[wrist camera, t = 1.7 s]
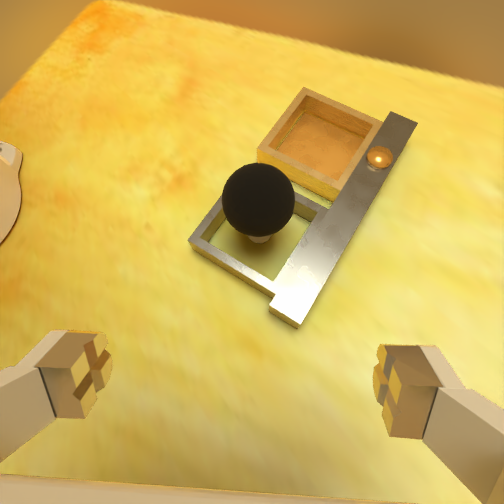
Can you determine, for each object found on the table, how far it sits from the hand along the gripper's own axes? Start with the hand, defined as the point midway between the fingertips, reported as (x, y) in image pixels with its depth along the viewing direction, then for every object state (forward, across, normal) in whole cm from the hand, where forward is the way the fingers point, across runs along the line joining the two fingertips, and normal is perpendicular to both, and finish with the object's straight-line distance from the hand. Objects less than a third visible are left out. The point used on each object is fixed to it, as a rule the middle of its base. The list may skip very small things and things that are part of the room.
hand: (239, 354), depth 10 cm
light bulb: (+23, 0, +5) cm, 24 cm away
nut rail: (+26, -4, +2) cm, 27 cm away
